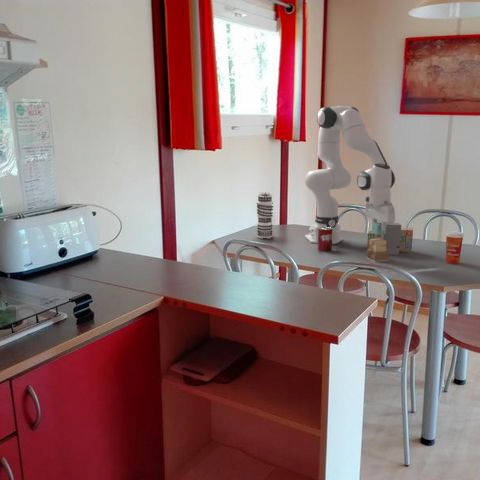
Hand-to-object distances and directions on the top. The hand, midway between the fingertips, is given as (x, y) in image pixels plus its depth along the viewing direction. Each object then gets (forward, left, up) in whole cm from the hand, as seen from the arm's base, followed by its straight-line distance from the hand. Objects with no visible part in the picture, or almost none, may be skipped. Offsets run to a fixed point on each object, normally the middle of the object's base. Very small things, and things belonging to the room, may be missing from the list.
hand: (379, 229), depth 245 cm
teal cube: (0, 0, -2) cm, 2 cm away
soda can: (-24, -16, -15) cm, 33 cm away
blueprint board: (-1, 0, -15) cm, 15 cm away
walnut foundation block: (0, 0, -14) cm, 14 cm away
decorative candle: (-64, -34, -15) cm, 74 cm away
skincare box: (-8, +11, -15) cm, 21 cm away
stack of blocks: (-15, +15, -16) cm, 26 cm away
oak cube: (0, 0, -10) cm, 10 cm away
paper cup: (+13, +31, -15) cm, 37 cm away
